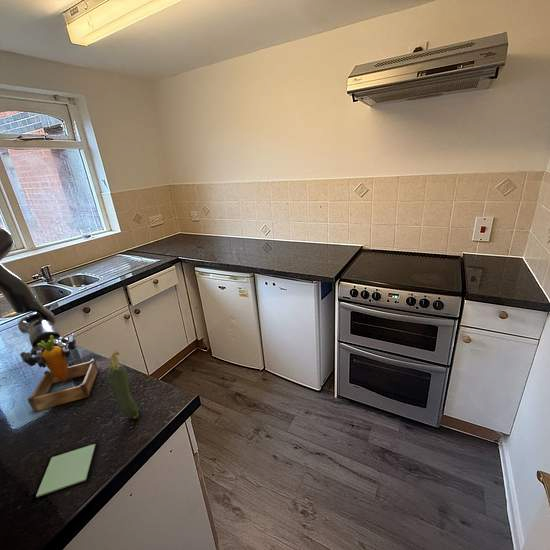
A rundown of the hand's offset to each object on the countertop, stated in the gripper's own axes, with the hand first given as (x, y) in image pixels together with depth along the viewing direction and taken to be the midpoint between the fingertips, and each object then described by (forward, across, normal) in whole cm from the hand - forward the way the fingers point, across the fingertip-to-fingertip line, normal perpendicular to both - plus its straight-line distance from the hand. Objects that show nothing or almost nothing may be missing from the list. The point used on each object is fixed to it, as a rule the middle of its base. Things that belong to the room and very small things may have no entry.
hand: (55, 359), depth 84 cm
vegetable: (+24, +9, +12) cm, 29 cm away
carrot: (-3, 0, +9) cm, 10 cm away
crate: (-3, 0, +12) cm, 12 cm away
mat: (+28, -6, +12) cm, 31 cm away
